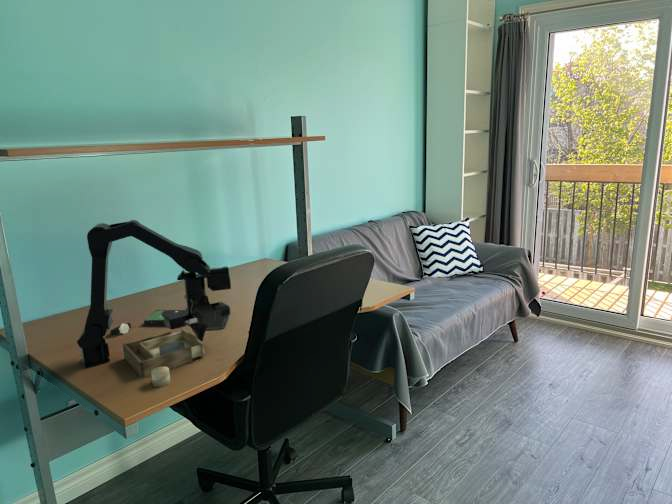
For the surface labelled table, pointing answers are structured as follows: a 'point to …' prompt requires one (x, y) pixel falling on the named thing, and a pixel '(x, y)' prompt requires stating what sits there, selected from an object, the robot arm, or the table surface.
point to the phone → (218, 323)
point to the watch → (120, 329)
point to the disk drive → (161, 317)
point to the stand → (160, 376)
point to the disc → (171, 347)
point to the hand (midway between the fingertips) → (200, 341)
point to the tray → (152, 346)
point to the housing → (147, 366)
